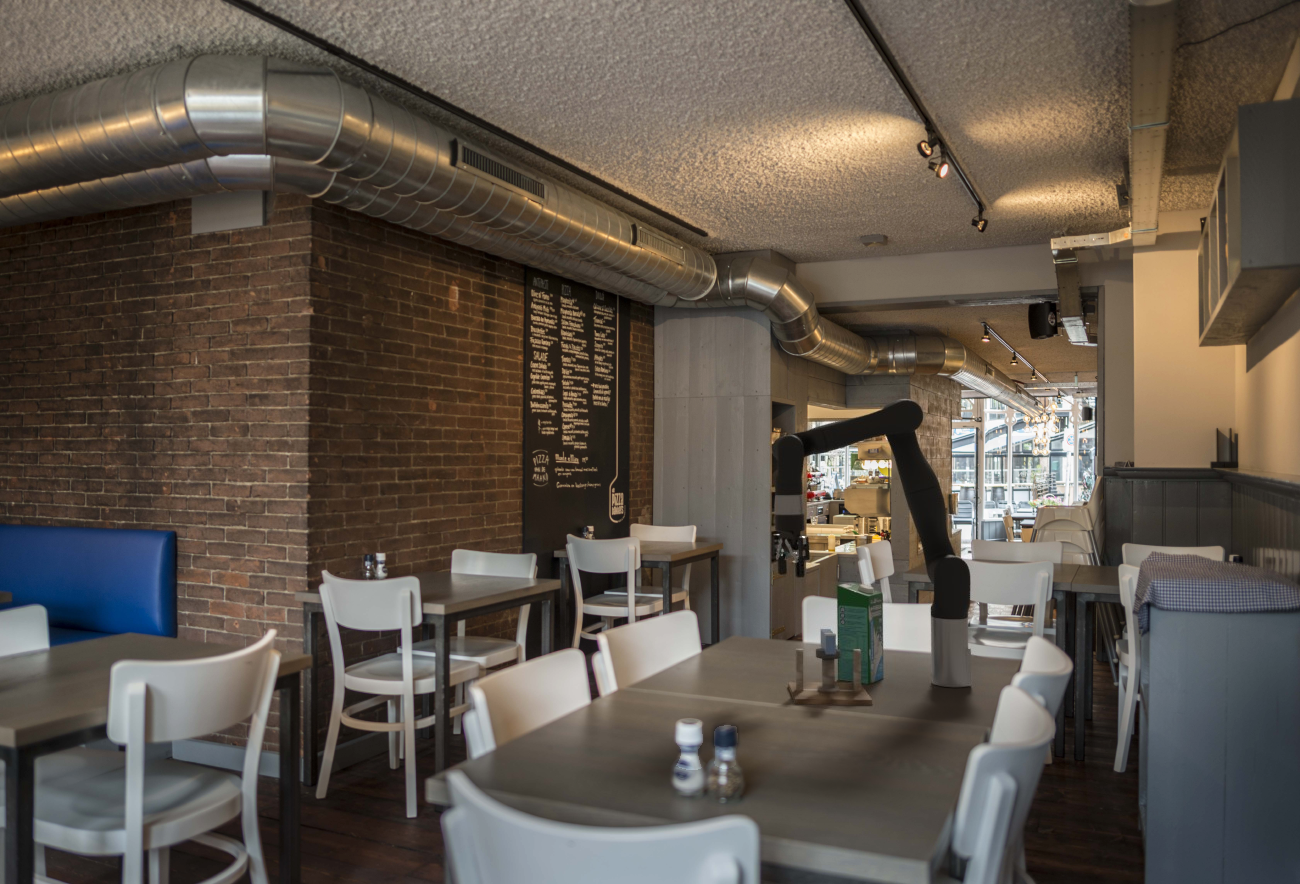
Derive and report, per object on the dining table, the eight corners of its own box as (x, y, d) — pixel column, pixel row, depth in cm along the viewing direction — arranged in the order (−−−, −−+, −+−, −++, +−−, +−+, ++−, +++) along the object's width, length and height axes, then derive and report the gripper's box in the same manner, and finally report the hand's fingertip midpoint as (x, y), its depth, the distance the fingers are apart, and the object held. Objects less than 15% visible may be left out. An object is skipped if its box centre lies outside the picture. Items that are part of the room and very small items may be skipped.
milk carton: (869, 684, 241) (868, 587, 242) (837, 679, 246) (836, 584, 247) (883, 678, 248) (882, 583, 249) (852, 673, 254) (851, 581, 254)
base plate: (859, 687, 237) (859, 643, 238) (872, 704, 219) (871, 656, 220) (788, 686, 238) (787, 642, 239) (795, 704, 220) (794, 656, 221)
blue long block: (837, 653, 234) (837, 627, 234) (843, 661, 224) (843, 634, 224) (813, 652, 234) (813, 627, 235) (818, 660, 224) (818, 634, 225)
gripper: (817, 512, 235) (818, 577, 235) (787, 511, 248) (789, 572, 248) (791, 514, 232) (793, 579, 232) (762, 512, 245) (764, 574, 245)
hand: (791, 575), depth 240 cm, fingers open, 8 cm apart
